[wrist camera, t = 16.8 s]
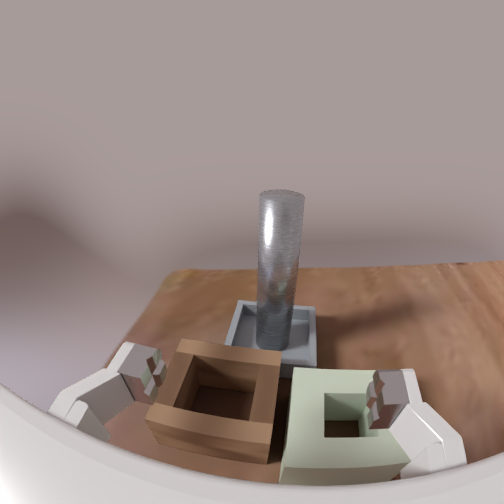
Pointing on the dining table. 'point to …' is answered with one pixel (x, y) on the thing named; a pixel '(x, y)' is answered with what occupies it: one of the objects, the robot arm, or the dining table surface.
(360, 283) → the dining table surface
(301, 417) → the sage block
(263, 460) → the brown wooden square frame
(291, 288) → the cylinder
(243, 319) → the tray
